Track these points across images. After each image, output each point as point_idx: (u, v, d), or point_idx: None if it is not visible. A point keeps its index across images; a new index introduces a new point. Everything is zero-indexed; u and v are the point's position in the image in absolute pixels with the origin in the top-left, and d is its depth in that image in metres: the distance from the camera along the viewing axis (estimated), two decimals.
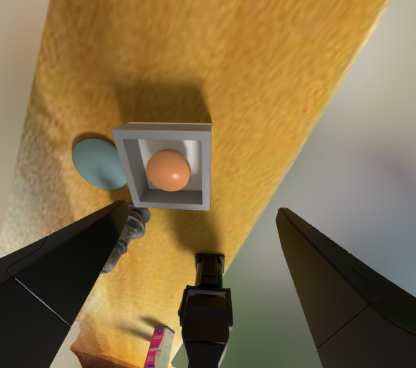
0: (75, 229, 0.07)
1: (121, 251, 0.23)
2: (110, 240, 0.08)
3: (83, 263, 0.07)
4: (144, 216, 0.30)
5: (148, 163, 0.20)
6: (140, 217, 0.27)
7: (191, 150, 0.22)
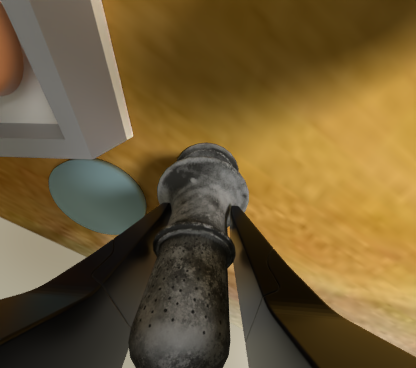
0: (137, 232, 0.07)
1: (188, 245, 0.06)
2: None
3: (144, 267, 0.07)
4: None
5: None
6: None
7: None
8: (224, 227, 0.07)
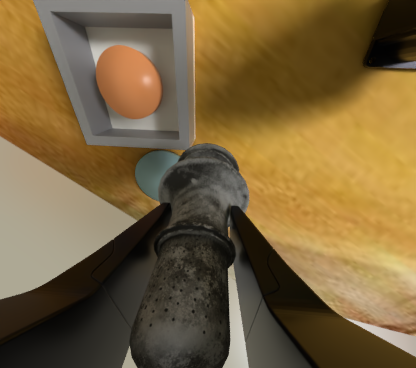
0: (137, 232, 0.07)
1: (189, 246, 0.06)
2: None
3: (144, 267, 0.07)
4: None
5: (120, 112, 0.15)
6: None
7: None
8: (224, 227, 0.07)
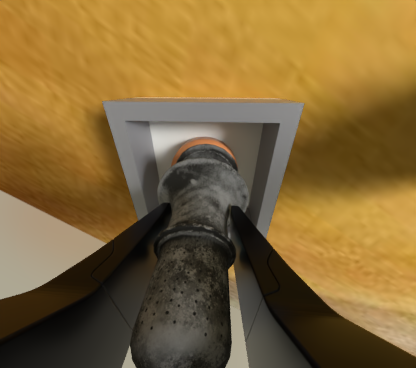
0: (137, 232, 0.07)
1: (189, 247, 0.06)
2: None
3: (144, 267, 0.07)
4: None
5: None
6: None
7: (179, 135, 0.13)
8: (224, 228, 0.07)
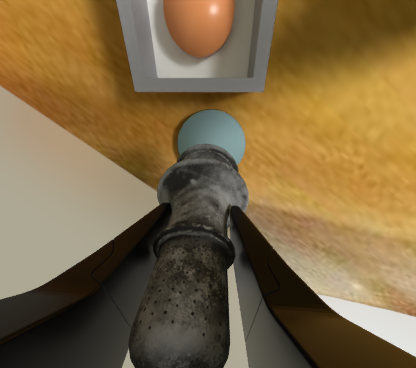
0: (137, 232, 0.07)
1: (188, 247, 0.06)
2: None
3: (144, 267, 0.07)
4: None
5: (184, 48, 0.14)
6: None
7: None
8: (224, 228, 0.07)
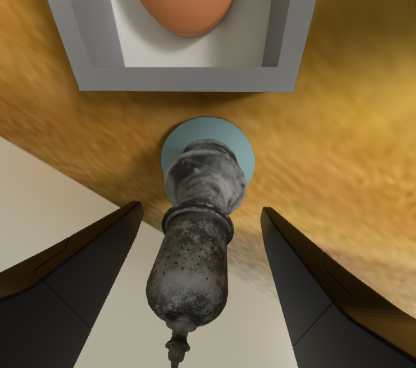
0: (95, 230, 0.07)
1: (193, 220, 0.07)
2: (127, 241, 0.08)
3: (103, 264, 0.07)
4: None
5: (161, 18, 0.08)
6: None
7: None
8: (224, 209, 0.08)
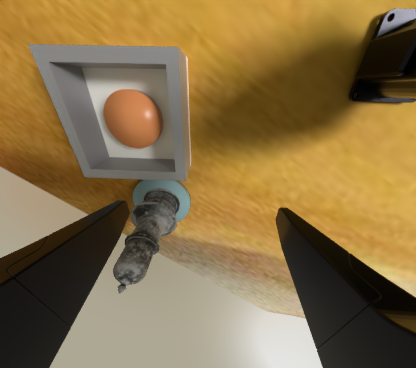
0: (75, 229, 0.07)
1: (136, 242, 0.16)
2: (110, 240, 0.08)
3: (83, 263, 0.07)
4: (160, 196, 0.22)
5: (124, 143, 0.17)
6: None
7: (111, 89, 0.16)
8: (156, 234, 0.17)
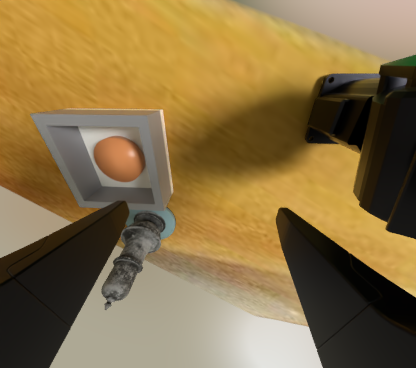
0: (75, 229, 0.07)
1: (121, 264, 0.19)
2: (110, 240, 0.08)
3: (83, 263, 0.07)
4: (147, 217, 0.25)
5: (113, 178, 0.20)
6: (131, 224, 0.23)
7: (100, 135, 0.19)
8: (140, 256, 0.20)
